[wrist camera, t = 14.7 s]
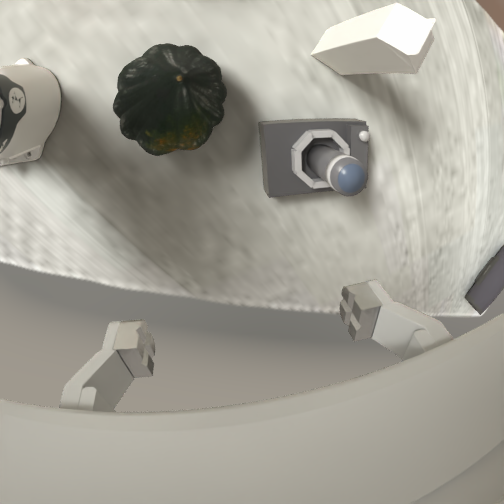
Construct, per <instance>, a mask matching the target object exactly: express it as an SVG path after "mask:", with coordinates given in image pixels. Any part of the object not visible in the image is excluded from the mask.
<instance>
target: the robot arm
mask: <svg viewBox="0 0 504 504" xmlns="http://www.w3.org/2000/svg"><path fill="white" fill-rule="evenodd" d="M60 106H61V92H60V87H59V84H58V81H57V79H56V78H55V76H54V75H53V74H52V73H51V72H50V71H49V70H48V69H46V68H43V67H39V66H36V65H34V64H33V63H32V62H31V61H30V60H29V59H27V58H22V59H20V60H18V61H17V62H16V63H15V64H14V65H10V66H2V67H0V166H2V165H8V164H14V163H20V162H27V161H34V160H37V159H39V158H40V157H41V155H42V151H43V148H44V143H45V141H46V139H47V138H48V136H49V135H50V133H51V132H52V130H53V128H54V127H55V124H56V122H57V119H58V116H59V112H60ZM29 152H30V153H31V156H30V155H29ZM342 296H343V300H342V301H341V302H340V315H341V318H342V320H343V322H344V324H346V325H348V326H349V329H348V332H349V333H350V335H351V337H352V339H353V340H354V342H355V341H360V340H363V339H367V338H371V337H372V339H374V340H375V341H377V342H378V343H379V344H381V345H382V346H384V347H385V348H387V349H388V350H390V351H391V352H393V353H394V354H396V355H397V356H399V357H400V358H401V359H402V361H401V362H400V363H397V364H394V365H391V366H389V367H386V368H383V369H380V370H377V371H375V372H371V373H368V374H366V375H362V376H359V377H356V378H353V379H350V380H346V381H342V382H339V383H335V384H332V385H328V386H325V387H321V388H317V389H313V390H309V391H305V392H300V393H296V394H291V395H287V396H282V397H277V398H272V399H266V400H261V401H255V402H249V403H242V404H235V405H228V406H221V407H212V408H202V409H191V410H178V411H160V412H116V411H115V410H114V408H115V406H116V405H117V404H118V402H119V401H120V399H121V398H122V396H123V395H124V393H125V392H126V390H127V389H128V387H129V386H130V384H131V383H132V381H133V380H134V378H139V377H150V376H153V368H154V363H153V361H152V357H153V356H154V355H155V343H154V339H153V336H152V334H151V333H150V332H148V331H147V328H148V325H147V323H146V321H145V320H144V319H140V320H128V321H119V322H111V323H110V324H109V326H108V329H107V333H106V336H105V339H104V343H103V347H102V350H101V351H98V352H97V353H96V354H95V355H94V356H93V357H92V358H91V359H90V360H89V361H88V362H87V363H86V364H85V365H84V366H83V367H82V368H81V369H80V370H79V371H78V372H77V373H76V374H75V375H74V376H73V377H72V378H71V379H70V381H69V382H68V383H67V384H66V385H65V387H64V391H63V394H62V398H61V402H60V406H59V408H53V407H45V406H38V405H31V404H25V403H20V402H14V401H10V400H5V399H0V504H504V313H503V314H501V315H499V316H497V317H495V318H494V319H492V320H490V321H488V322H487V323H485V324H483V325H481V326H479V327H477V328H475V329H473V330H472V331H470V332H468V333H466V334H464V335H462V336H460V337H458V338H456V339H453V337H452V336H451V335H450V333H449V332H448V331H447V329H446V328H445V327H444V326H443V324H442V323H441V322H440V321H438V320H436V319H434V318H432V317H430V316H428V315H425V314H423V313H421V312H419V311H417V310H414V309H412V308H410V307H408V306H406V305H404V304H401V303H399V302H394V301H393V300H392V299H391V297H390V296H389V295H388V294H387V292H386V291H385V290H384V288H383V287H382V286H381V285H380V283H379V282H378V281H377V280H375V279H374V280H370V281H366V282H362V283H358V284H353V285H349V286H344V287H343V289H342Z"/></svg>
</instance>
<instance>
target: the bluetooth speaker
mask: <svg viewBox="0 0 504 504" xmlns="http://www.w3.org/2000/svg"><path fill="white" fill-rule="evenodd" d="M503 288H504V246H503V247H502V248H501V250H500V251H499V252H498V254H497V255H496V256H495V257H492V258H491V259H490V260H489V261H488V263H487V264H486V265H485V267H484V268H483V269H482V271H481V272H480V273H479V275H478V276H477V278H476V279H475V284H474V285H473V287H472V288H471V290H470V291H469V292H468V294H467V295H466V297H465V298H466V299H467V301H468V302H469V303H470V304H471V305H472V307H473V308H474V309H475V310H476V311H478V313H479V314H480V315H481V314H482V313H483V312H484V311H485V310H486V309H487V308H488V307H489V305H490V304H491V303H492V302H493V301H494V300H495V298H496V297H497V296H498V295H499V294H500V292H501V291H502V290H503Z"/></svg>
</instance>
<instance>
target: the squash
mask: <svg viewBox="0 0 504 504" xmlns="http://www.w3.org/2000/svg"><path fill="white" fill-rule="evenodd" d="M221 80H222V75H221V69H220V67H219V66H218V65H217V64H216V62H215V61H213V60H212V59H210V58H208V57H206V56H203V55H202V54H201V52H200V51H199V50H198V49H197V48H195V47H193V46H189V45H185V46H176V45H173V44H159V45H155V46H153V47H151V48H150V49H148V50H147V51H146V52H145V53H144V54H143V56H142V57H139V58H137V59H135V60H134V61H132V62H131V63H129V64H128V65H126V66H125V67H124V68H123V70H122V71H121V73H120V74H119V76H118V83H117V88H118V91H119V92H118V93H117V95H116V98H115V100H114V104H113V110H114V112H115V114H116V115H117V116H118V117H119V118H120V130H121V133H122V134H123V135H124V136H125V137H126V138H128V139H131V140H136V141H137V142H138V143H139V145H140V146H141V147H142V148H143V149H144V150H145V151H146V152H148V153H149V154H152V155H155V156H160V155H163V154H167V153H170V152H173V151H175V150H176V149H182V150H194V149H196V148H199V147H200V146H201V145H202V144H204V143H205V142H206V141H207V140H208V138H209V136H210V135H211V132H212V129H213V127H214V126H216V125H218V124H219V123H220V122H221V121H222V119H223V117H224V109H223V106H222V103H223V102H224V101H225V98H226V96H227V89H226V87H225V85H224V84H223V82H222V81H221Z"/></svg>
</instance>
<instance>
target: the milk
mask: <svg viewBox="0 0 504 504" xmlns="http://www.w3.org/2000/svg"><path fill="white" fill-rule="evenodd" d="M435 21H436V19H435V18H431V19H426V18H424V17H422V16H421V15H419V14H417V13H416V12H414V11H412V10H410V9H408V8H407V7H405V6H403V5H401V4H399V3H395V4H392V5H388V6H385V7H382V8H379V9H376V10H373V11H371V12H368V13H365V14H362V15H360V16H357V17H354V18H352V19H349V20H347V21H344V22H342V23H340V24H337V25H335V26H333V27H330V28H328V29H327V30H326V32H325V33H324V35H323V36H322V38H321V39H320V41H319V43H318V44H317V46H316V47H315V49H314V50H313V52H312V53H311V55H312V56H313V57H315V58H316V59H318V60H319V61H321V62H322V63H324V64H325V65H327V66H328V67H330V68H331V69H333V70H334V71H336V72H337V73H338V74H340V75H351V74H375V73H404V74H417V72H418V70H419V68H420V66H421V64H422V62H423V61H424V59H425V57H426V55H427V53H428V51H429V49H430V47H431V45H432V43H433V41H434V36H433V34H432V31H431V29H432V27H433V25H434V23H435Z"/></svg>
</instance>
